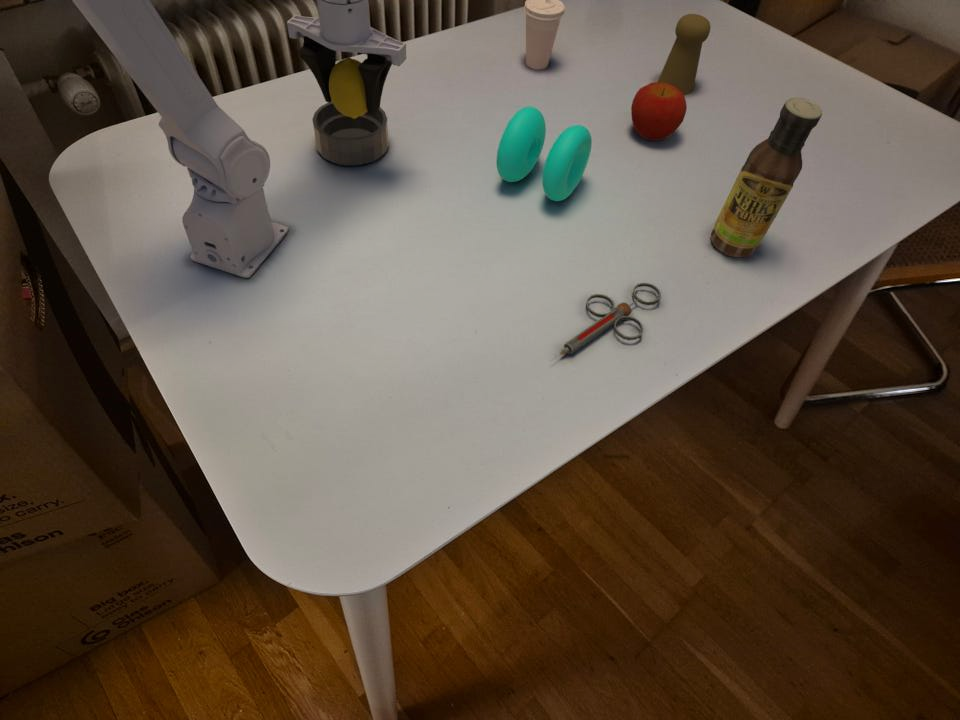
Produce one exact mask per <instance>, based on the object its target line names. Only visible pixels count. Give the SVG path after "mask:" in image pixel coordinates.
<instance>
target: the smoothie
mask: <svg viewBox="0 0 960 720" xmlns="http://www.w3.org/2000/svg"><path fill="white" fill-rule="evenodd" d="M523 10H524V11H523V12H524V13H525V64H526V66H527V67H528V68H530V69H533V70H538V71H539V70H540V71H541V70H544V69H547V68H548V66H549V63H550V60H551V55H552V51H553V48H554V45H555V41H556V38H557V33H558V30H559V27H560V23H561V19H562V17H563V16H564V15H565V4H564V3H563V1H562V0H525V1H524V7H523Z"/></svg>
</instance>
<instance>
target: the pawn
mask: <svg viewBox="0 0 960 720" xmlns="http://www.w3.org/2000/svg"><path fill="white" fill-rule="evenodd" d="M674 33H675V40H674V43H673V45H672V47H671V50H670V52H669V54H668V56H667V59H666V61H665V63H664V65H663V67H662V70H661V73H660V75H659V77H658V80H657V82H662V83H667V84H670V85H672V86H674V87H676V88H677V89H679V90H680V91H681V92H682V94H683V95H684V96H687V95H689V94H691V93H692V92H693V91H694V89H695V83H696V79H697V74H698V68H699V62H700V59H701V58H700V57H701V52H702V47H703V43H704V42H706V40H707V39H708V38H709V35H710V33H711V22H710V20H709V19H708V18H707V17H706V16H703V15H700V14H697V13H688V14H685V15H683V16H681V17H680V18H679V19H678V21H677V23H676V26H675V32H674Z"/></svg>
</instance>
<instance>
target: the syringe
mask: <svg viewBox="0 0 960 720" xmlns="http://www.w3.org/2000/svg"><path fill="white" fill-rule="evenodd" d="M640 287H648V288H651V290H654V292H656V294H657V297H658V298H657V299H655V300H654V301H646V300H643V299H641V298H640V297H639V296H638V295H637V294H636V292H635V290H636V289H638V288H640ZM661 297H662V293H661V290H660V289H659V288H658V287H657V286H656V285H654V284H653V283H649V282H640V283H636V285H635V286H634V288H633V290H632V298H633V299H634V301H633V302H632V303H630V304H628V303H627V302H625V301H623V302H621V303H619V304H617V306H616V307H615V302H614V300H613V299H612V298H611V297H610V296H607V295H605V294H601V293H596V294H591V295H590V296H589V297H588V298H587V300H586V303H585V308H586V310H587V311H588V313H589V314H591V315H592V316H594V317H597V318H600V319H598V320H597V321H596V322H594V323H592V324H591V325H590V326H588V327H587V328H585V329H584V330H582V331H581V332H580V333H578V334H577V335H575V336H574V337H572V338H571V339H570V340H568V341H566V342H565V343H564V344H563V349H562V350H561V352H560V353H559V355H557V356H555V357H554V358H552V359H551V360H550V362H552V361H553V360H555V359H556V358H558V357H559V356H561V355H565V354H569V355H572V354H574V353H575V352H576V351H578V350H579V349H580V348H582V347H583V346H585V345H586V344H588V343H589V342H590V341H592V340H594V339H595V338H596V337H598V336H599V335H600V334H602V333H604V332H605V331H606V330H608V329H609V328H611V327H613V331H614V333H615V334H616V335H617V336H618V337H619V338H621V339H623V340H626V341H634V340H638V339H639V338H641V336H642V334H643V332H644V326H643V324H642V322H641V321H640V320H639V319H637V318H636V317H634V316H630V315H631V313H632V306H633V305H634V304H636V303H639V304H641V305H644V306H654V305H657V304H658V303H659V302H660V300H661ZM597 298H598V299H603V300H606V301H608V302H609V303H610V305H611V308H612V309H611V311H609V312H607V313H599V312H596V311H595V310H593V309H592V308H591V307H590V306H589V302H590V301H591V300H592V299H597ZM622 320H625V321H626V320H627V321H632V322H634V323H636V325H637V326H639V329H640V333H639V334H637V335H635V336H628V335H625V334H623V333H621V332H620V331H619V330H618V328H617V324H618V322H620V321H622Z"/></svg>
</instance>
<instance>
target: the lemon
mask: <svg viewBox="0 0 960 720" xmlns="http://www.w3.org/2000/svg"><path fill="white" fill-rule="evenodd" d="M361 63H362V62H361V61H359V60H357V59H355V58H352V57H346V58H344V59H340V60H339V61H338V62H336V65H335V66H334V67H333V68H332V70H331V73H330V78H329V93H330V97H331V100H332V103H333V104H334V106H335V107H336V109H337V110H338V111H339V112H340V113H342V114H343V115H345V116H348V117H352V118H353V119H356V118H357V117H359V116H361V115H363V114H365V113H366V112H367V106H366V93H365V88H364V83H363V80H362V77H361V74H360V72H359V69H358V66H359V65H360V64H361Z"/></svg>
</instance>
